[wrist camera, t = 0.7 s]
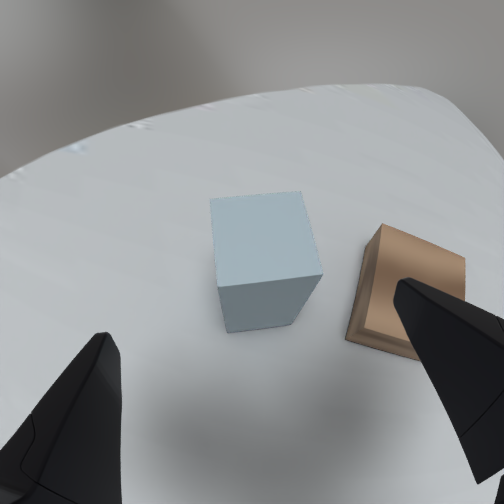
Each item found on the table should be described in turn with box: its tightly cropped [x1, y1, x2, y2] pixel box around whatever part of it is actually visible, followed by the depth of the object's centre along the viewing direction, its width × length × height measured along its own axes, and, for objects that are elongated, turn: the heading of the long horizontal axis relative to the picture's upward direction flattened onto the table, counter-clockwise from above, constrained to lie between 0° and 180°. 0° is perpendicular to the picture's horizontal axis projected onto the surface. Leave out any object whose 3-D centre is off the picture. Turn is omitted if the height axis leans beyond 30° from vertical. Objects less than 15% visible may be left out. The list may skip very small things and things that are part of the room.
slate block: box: [210, 191, 323, 333], centre depth 19 cm, size 5×5×10 cm
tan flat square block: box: [346, 223, 465, 361], centre depth 22 cm, size 9×9×4 cm
